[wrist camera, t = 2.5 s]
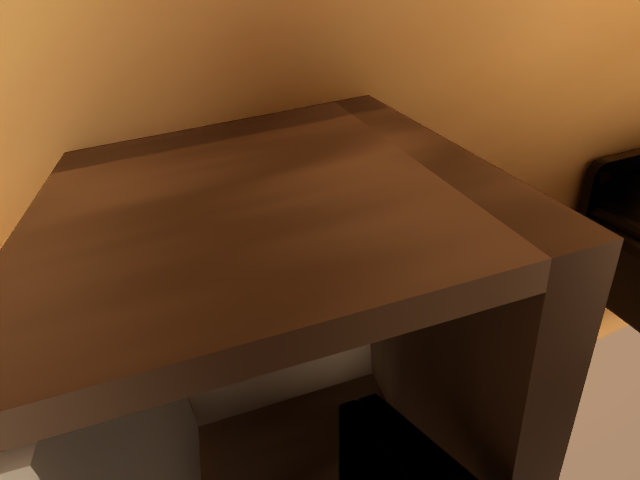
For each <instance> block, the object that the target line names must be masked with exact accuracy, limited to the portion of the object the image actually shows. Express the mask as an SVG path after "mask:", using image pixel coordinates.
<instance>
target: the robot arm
mask: <svg viewBox="0 0 640 480" xmlns="http://www.w3.org/2000/svg"><path fill="white" fill-rule="evenodd" d="M601 173H602V174H601ZM577 212H578V213H580V214H582V215H583V216H585V217H587V218H589V219H591V220H592V221H594V222H596V223H598V224H599V225H601V226H603V227H605V228H607V229H608V230H610V231H612V232H614V233H616V234H617V235H619V236H621V237H623V238H624V240H623V244H622V248H621V251H620V255H619V259H618V262H617V266H616V270H615V273H614V277H613V281H612V285H611V288H610V292H609V296H608V299H607V303H606V308H607V309H609V310H610V311H611V312H613V313H614V314H615V315H617V316H618V317H619V318H621V319H622V320H623V321H625V322H626V323H627V324H629V325H630V326H631V327H633V328H634V329H635V330H637V331H638V332H639V333H640V149H637V150H632V151H628V152H624V153H620V154H616V155H611V156H607V157H603V158H599V159H597V160H595V161H594V162H592V163H591V164H590V165H589V167H588V168H587V170H586V173H585V176H584V181H583V186H582V191H581V196H580V201H579V206H578V211H577ZM338 480H479V479H478V478H477V477H475V476H474V475H473V474H472V473H471V472H469V471H468V470H467V469H466V468H465V467H464V466H462V465H461V464H460V463H459V462H458V461H456V460H455V459H454V458H453V457H452V456H450V455H449V454H448V453H447V452H446V451H445V450H443V449H442V448H441V447H440V446H439V445H437V444H436V443H435V442H434V441H433V440H431V439H430V438H429V437H428V436H427V435H426V434H424V433H423V432H422V431H421V430H420V429H418V428H417V427H416V426H415V425H414V424H412V423H411V422H410V421H409V420H408V419H407V418H405V417H404V416H403V415H402V414H401V413H399V412H398V411H397V410H396V409H395V408H393V407H392V406H391V405H390V404H389V403H387V402H386V401H385V400H384V399H383V398H382V397H380V396H379V395H378V394H376V393H371V394H367V395H364V396H361V397H359V398H358V399H357V400H356V399H352V400H348V401H345V402H342V403H339V405H338Z"/></svg>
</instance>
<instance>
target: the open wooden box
mask: <svg viewBox="0 0 640 480" xmlns="http://www.w3.org/2000/svg"><path fill="white" fill-rule="evenodd" d="M623 240H624V238H623V237H621V236H619V235H617V234H616V233H614V232H612V231H610V230H608V229H607V228H605V227H603V226H601V225H599V224H598V223H596V222H594V221H592V220H591V219H589V218H587V217H585V216H583V215H582V214H580V213H578V212H576V211H574V210H573V209H571V208H569V207H567V206H566V205H564V204H562V203H560V202H558V201H557V200H555V199H553V198H551V197H549V196H548V195H546V194H544V193H542V192H541V191H539V190H537V189H535V188H533V187H532V186H530V185H528V184H526V183H524V182H523V181H521V180H519V179H517V178H516V177H514V176H512V175H510V174H508V173H507V172H505V171H503V170H501V169H499V168H498V167H496V166H494V165H492V164H491V163H489V162H487V161H485V160H483V159H482V158H480V157H478V156H476V155H474V154H473V153H471V152H469V151H467V150H466V149H464V148H462V147H460V146H458V145H457V144H455V143H453V142H451V141H449V140H448V139H446V138H444V137H442V136H441V135H439V134H437V133H435V132H433V131H432V130H430V129H428V128H426V127H424V126H423V125H421V124H419V123H417V122H416V121H414V120H412V119H410V118H408V117H407V116H405V115H403V114H401V113H399V112H398V111H396V110H394V109H392V108H391V107H389V106H387V105H385V104H383V103H382V102H380V101H378V100H376V99H374V98H373V97H371V96H369V95H368V96H362V97H357V98H352V99H346V100H341V101H336V102H331V103H325V104H320V105H315V106H309V107H304V108H299V109H294V110H288V111H283V112H278V113H272V114H267V115H262V116H257V117H251V118H246V119H241V120H235V121H230V122H225V123H220V124H214V125H209V126H204V127H198V128H193V129H188V130H182V131H177V132H172V133H167V134H161V135H156V136H151V137H145V138H140V139H135V140H130V141H124V142H119V143H114V144H108V145H103V146H98V147H93V148H87V149H82V150H77V151H71V152H66V153H64V155H63V156H62V158H61V159H60V161H59V162H58V164H57V165H56V167H55V168H54V170H53V171H52V173H51V174H50V176H49V177H48V179H47V180H46V182H45V183H44V185H43V186H42V188H41V189H40V191H39V192H38V194H37V195H36V197H35V199H34V200H33V202H32V203H31V205H30V206H29V208H28V209H27V211H26V212H25V214H24V215H23V217H22V218H21V220H20V221H19V223H18V224H17V226H16V227H15V229H14V230H13V232H12V233H11V235H10V236H9V238H8V239H7V241H6V242H5V244H4V245H3V247H2V248H1V250H0V452H2V451H6V450H9V449H12V448H16V447H19V446H23V445H26V444H30V443H33V442H36V441H40V440H43V439H47V438H50V437H53V436H57V435H60V434H64V433H67V432H71V431H74V430H77V429H81V428H84V427H88V426H91V425H94V424H98V423H101V422H105V421H108V420H112V419H115V418H118V417H122V416H125V415H129V414H132V413H135V412H139V411H142V410H146V409H149V408H153V407H156V406H159V405H163V404H166V403H170V402H173V401H176V400H180V399H183V398H188V401H189V403H190V406H191V408H192V411H193V413H194V416H195V419H196V421H197V424H198V432H199V451H200V469H201V480H338V405H339V403H342V402H345V401H348V400H352V399H356V400H357V399H358V398H359V397H361V396H364V395H367V394H371V393H376V394H378V395H379V396H380V397H382V398H383V399H384V400H385V401H386V402H387V403H389V404H390V405H391V406H392V407H393V408H395V409H396V410H397V411H398V412H399V413H401V414H402V415H403V416H404V417H405V418H407V419H408V420H409V421H410V422H411V423H412V424H414V425H415V426H416V427H417V428H418V429H420V430H421V431H422V432H423V433H424V434H426V435H427V436H428V437H429V438H430V439H431V440H433V441H434V442H435V443H436V444H437V445H439V446H440V447H441V448H442V449H443V450H445V451H446V452H447V453H448V454H449V455H450V456H452V457H453V458H454V459H455V460H456V461H458V462H459V463H460V464H461V465H462V466H464V467H465V468H466V469H467V470H468V471H469V472H471V473H472V474H473V475H474V476H475V477H477V478H478V479H479V480H559V476H560V472H561V469H562V465H563V461H564V457H565V454H566V450H567V446H568V443H569V439H570V436H571V432H572V428H573V424H574V421H575V417H576V413H577V410H578V406H579V402H580V399H581V395H582V391H583V387H584V384H585V380H586V376H587V373H588V369H589V365H590V362H591V358H592V354H593V350H594V347H595V343H596V340H597V336H598V332H599V329H600V325H601V321H602V318H603V314H604V310H605V307H606V303H607V299H608V296H609V292H610V288H611V285H612V281H613V277H614V273H615V270H616V266H617V262H618V259H619V255H620V251H621V248H622V244H623Z"/></svg>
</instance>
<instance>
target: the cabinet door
mask: <svg viewBox="0 0 640 480" xmlns="http://www.w3.org/2000/svg"><path fill="white" fill-rule="evenodd" d="M0 480H201V469H200V451H199V432H198V424H197V421H196V419H195V416H194V413H193V411H192V408H191V406H190V403H189V401H188V398H183V399H180V400H176V401H173V402H170V403H166V404H163V405H159V406H156V407H153V408H149V409H146V410H142V411H139V412H135V413H132V414H129V415H125V416H122V417H118V418H115V419H112V420H108V421H105V422H101V423H98V424H94V425H91V426H88V427H84V428H81V429H77V430H74V431H71V432H67V433H64V434H60V435H57V436H53V437H50V438H47V439H43V440H40V441H36V442H33V443H30V444H26V445H23V446H19V447H16V448H12V449H9V450H6V451H2V452H0Z"/></svg>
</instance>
